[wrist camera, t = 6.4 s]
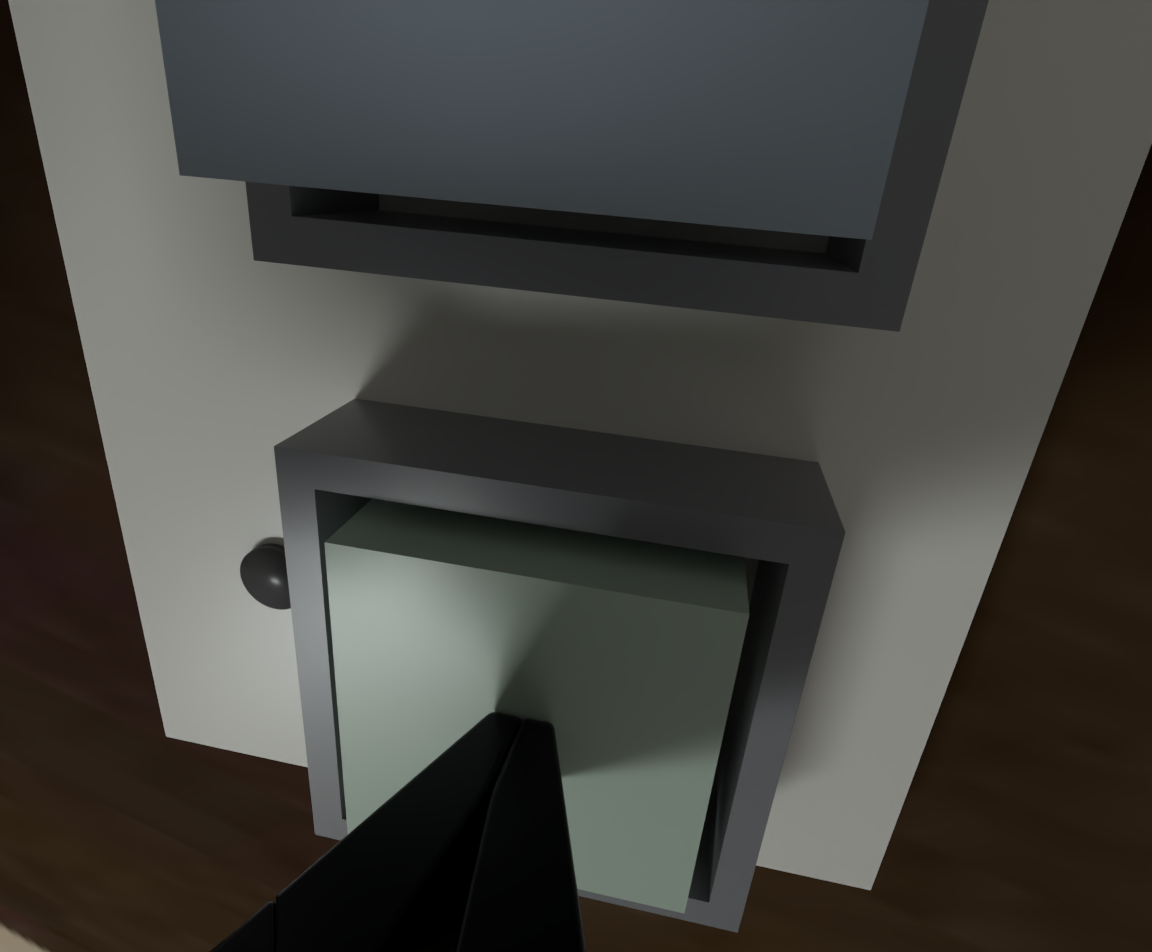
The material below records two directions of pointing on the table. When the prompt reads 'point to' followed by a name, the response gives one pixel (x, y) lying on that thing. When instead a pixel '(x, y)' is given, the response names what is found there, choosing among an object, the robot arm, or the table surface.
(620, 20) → the two dot button
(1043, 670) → the table surface
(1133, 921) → the table surface
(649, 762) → the one dot button
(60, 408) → the table surface
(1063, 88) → the button board
